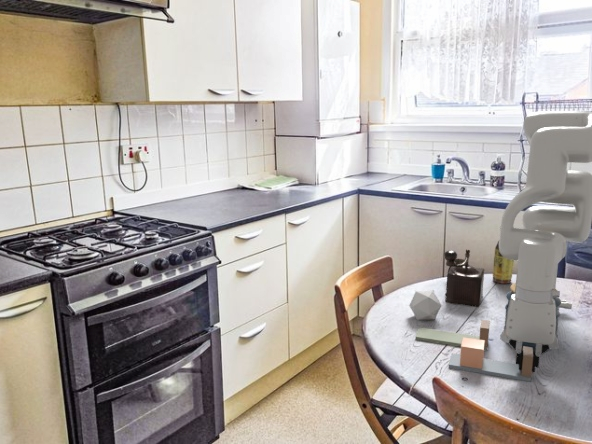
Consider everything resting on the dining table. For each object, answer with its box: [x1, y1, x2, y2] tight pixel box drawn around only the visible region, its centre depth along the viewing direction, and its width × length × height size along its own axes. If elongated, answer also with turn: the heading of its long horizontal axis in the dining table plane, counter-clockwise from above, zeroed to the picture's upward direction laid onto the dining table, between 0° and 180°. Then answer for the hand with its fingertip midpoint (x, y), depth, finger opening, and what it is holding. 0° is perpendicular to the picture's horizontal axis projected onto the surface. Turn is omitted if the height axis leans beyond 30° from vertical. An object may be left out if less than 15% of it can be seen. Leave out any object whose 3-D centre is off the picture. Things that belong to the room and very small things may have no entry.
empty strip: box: [415, 319, 491, 351], centre depth 137 cm, size 18×6×6 cm, turn 67°
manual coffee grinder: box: [443, 249, 485, 308], centre depth 161 cm, size 16×11×18 cm
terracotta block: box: [460, 337, 485, 369], centre depth 124 cm, size 5×5×5 cm
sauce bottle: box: [492, 226, 515, 285], centre depth 177 cm, size 7×6×20 cm
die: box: [408, 290, 442, 321], centre depth 151 cm, size 8×9×10 cm
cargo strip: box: [448, 346, 533, 382], centre depth 123 cm, size 18×6×6 cm, turn 67°
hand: (526, 367), depth 120 cm, fingers closed on cargo strip, 2 cm apart
